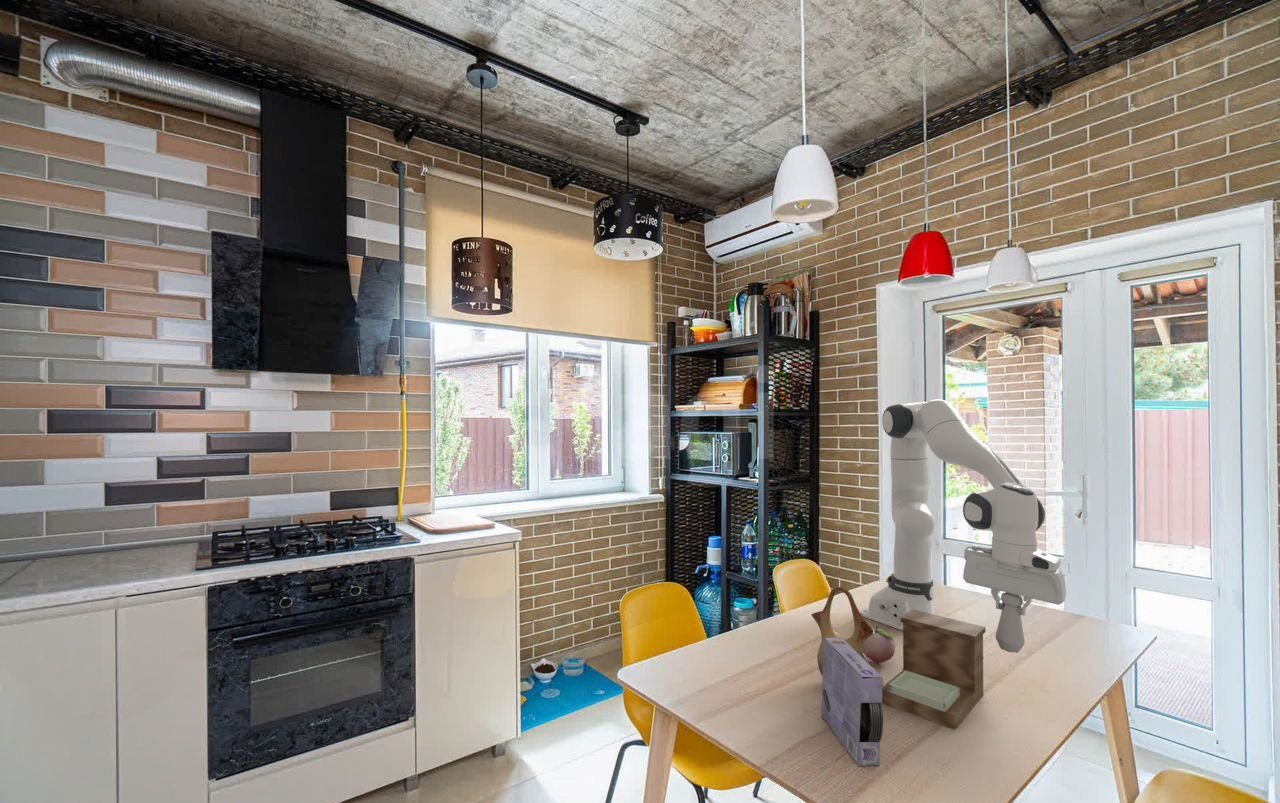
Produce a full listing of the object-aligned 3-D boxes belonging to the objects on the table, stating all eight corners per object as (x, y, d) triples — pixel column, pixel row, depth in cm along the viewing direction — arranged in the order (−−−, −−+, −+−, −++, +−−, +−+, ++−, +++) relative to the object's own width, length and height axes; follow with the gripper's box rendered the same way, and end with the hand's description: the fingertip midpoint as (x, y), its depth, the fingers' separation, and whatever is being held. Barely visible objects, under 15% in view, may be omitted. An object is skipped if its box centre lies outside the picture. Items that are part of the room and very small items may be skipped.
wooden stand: (878, 701, 132) (878, 631, 132) (912, 671, 147) (912, 609, 147) (957, 730, 120) (957, 654, 120) (985, 694, 135) (985, 627, 135)
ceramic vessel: (801, 682, 141) (801, 582, 141) (822, 672, 147) (822, 575, 147) (863, 709, 128) (863, 599, 129) (883, 697, 134) (882, 591, 134)
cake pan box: (885, 770, 107) (885, 676, 107) (860, 771, 106) (860, 677, 107) (841, 715, 126) (841, 636, 126) (819, 716, 126) (819, 636, 126)
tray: (888, 692, 130) (888, 684, 130) (905, 677, 137) (905, 670, 137) (945, 712, 122) (945, 703, 122) (959, 695, 129) (959, 687, 129)
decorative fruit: (900, 663, 152) (900, 625, 152) (889, 673, 146) (889, 634, 146) (865, 652, 158) (865, 617, 158) (854, 662, 152) (853, 625, 153)
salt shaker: (1029, 655, 129) (1032, 599, 129) (1002, 653, 130) (1005, 597, 130) (1016, 644, 135) (1018, 591, 135) (990, 642, 136) (993, 588, 136)
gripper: (960, 545, 138) (957, 601, 138) (1063, 566, 123) (1060, 628, 123) (968, 541, 142) (966, 596, 142) (1069, 561, 128) (1066, 621, 128)
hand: (1010, 611), depth 133 cm, fingers closed on salt shaker, 3 cm apart
